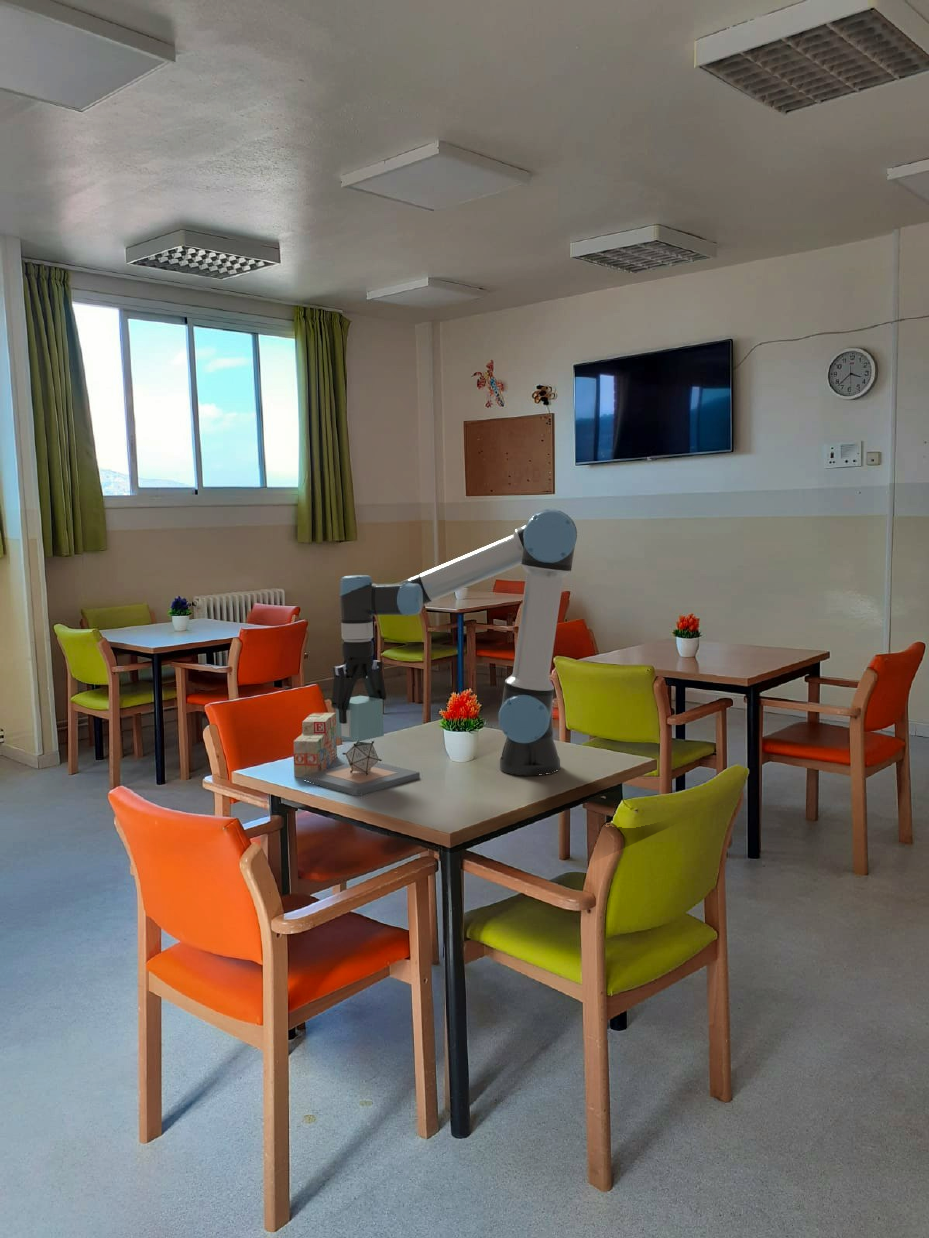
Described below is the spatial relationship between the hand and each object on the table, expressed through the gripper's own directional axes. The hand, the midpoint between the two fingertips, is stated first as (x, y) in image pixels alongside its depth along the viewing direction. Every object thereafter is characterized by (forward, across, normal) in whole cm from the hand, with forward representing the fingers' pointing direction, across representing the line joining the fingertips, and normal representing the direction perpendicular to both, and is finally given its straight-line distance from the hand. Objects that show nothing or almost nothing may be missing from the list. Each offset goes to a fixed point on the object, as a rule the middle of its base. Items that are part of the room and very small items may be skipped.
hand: (360, 733), depth 232 cm
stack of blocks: (+12, -1, -19) cm, 22 cm away
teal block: (+1, 0, 0) cm, 1 cm away
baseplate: (+12, 0, 0) cm, 12 cm away
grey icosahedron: (+10, 0, 0) cm, 10 cm away
